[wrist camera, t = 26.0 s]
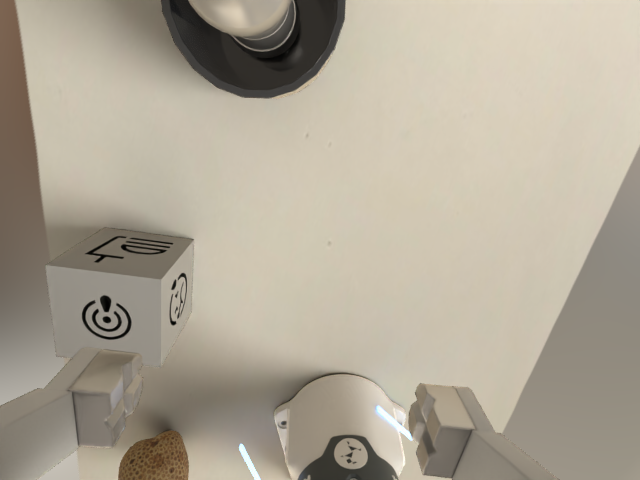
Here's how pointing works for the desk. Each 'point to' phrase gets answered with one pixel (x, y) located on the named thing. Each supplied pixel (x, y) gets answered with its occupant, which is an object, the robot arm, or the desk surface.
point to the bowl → (249, 71)
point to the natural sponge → (156, 459)
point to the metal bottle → (254, 23)
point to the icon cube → (121, 294)
